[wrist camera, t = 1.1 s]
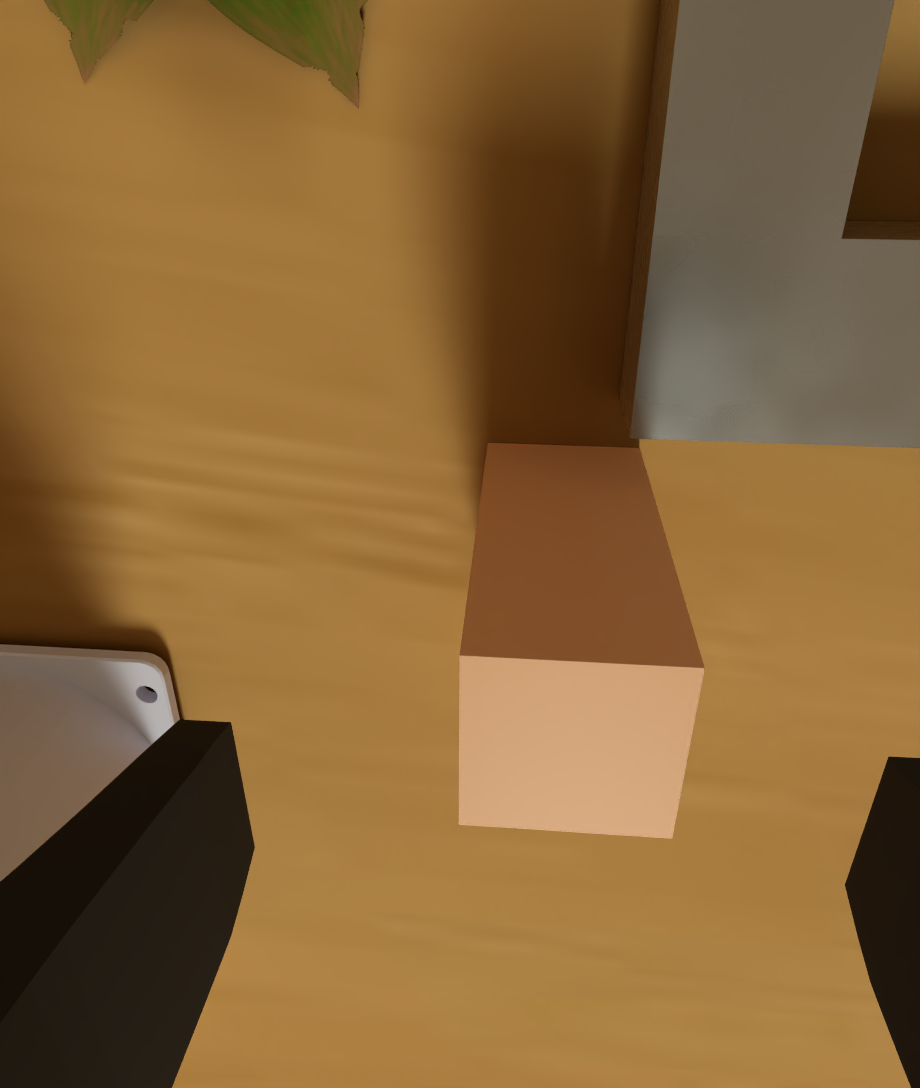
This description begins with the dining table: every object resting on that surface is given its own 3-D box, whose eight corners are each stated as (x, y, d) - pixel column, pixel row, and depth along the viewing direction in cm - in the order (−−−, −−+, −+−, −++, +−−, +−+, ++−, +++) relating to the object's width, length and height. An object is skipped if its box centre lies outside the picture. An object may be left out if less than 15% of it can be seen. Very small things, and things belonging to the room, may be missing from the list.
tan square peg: (623, 576, 17) (671, 838, 11) (484, 571, 18) (459, 824, 12) (639, 447, 16) (704, 667, 10) (487, 442, 16) (459, 655, 10)
